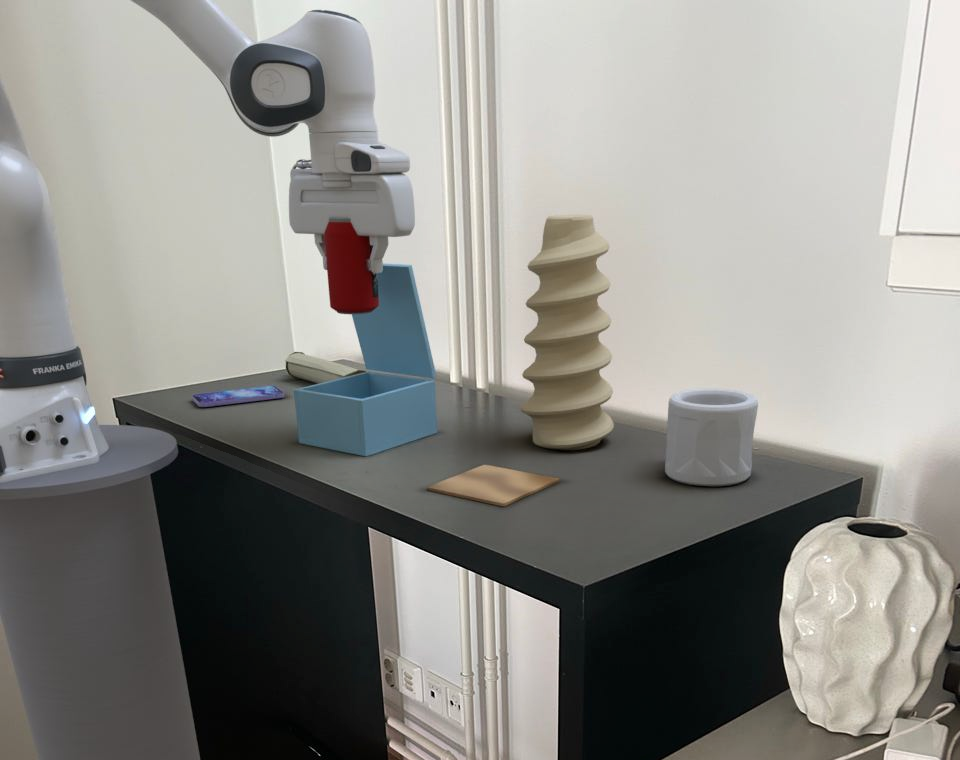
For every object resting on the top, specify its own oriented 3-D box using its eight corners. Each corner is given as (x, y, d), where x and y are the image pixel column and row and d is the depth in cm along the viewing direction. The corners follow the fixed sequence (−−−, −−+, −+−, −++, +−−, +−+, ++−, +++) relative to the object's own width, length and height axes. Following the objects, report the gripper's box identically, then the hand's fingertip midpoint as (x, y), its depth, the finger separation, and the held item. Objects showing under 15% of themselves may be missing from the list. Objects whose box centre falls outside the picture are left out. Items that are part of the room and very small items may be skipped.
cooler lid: (408, 266, 136) (411, 264, 136) (337, 263, 143) (341, 261, 144) (433, 378, 146) (436, 376, 146) (366, 369, 153) (369, 367, 154)
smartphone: (285, 393, 173) (199, 403, 168) (286, 398, 174) (200, 409, 168) (274, 384, 179) (190, 394, 174) (274, 389, 180) (191, 399, 174)
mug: (769, 478, 125) (777, 398, 120) (703, 493, 120) (709, 410, 116) (697, 454, 135) (702, 380, 131) (634, 467, 131) (637, 390, 126)
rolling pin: (385, 401, 170) (383, 371, 168) (356, 405, 167) (354, 375, 165) (303, 373, 194) (301, 347, 192) (277, 377, 191) (274, 350, 189)
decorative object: (632, 443, 141) (642, 214, 128) (556, 458, 135) (558, 220, 122) (576, 425, 151) (579, 212, 138) (503, 438, 145) (499, 216, 132)
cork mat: (503, 506, 117) (503, 503, 117) (426, 490, 124) (426, 486, 124) (559, 481, 126) (559, 478, 125) (484, 467, 132) (484, 464, 132)
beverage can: (389, 311, 137) (384, 217, 132) (350, 316, 133) (344, 219, 128) (359, 307, 141) (353, 216, 136) (320, 312, 137) (313, 218, 132)
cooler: (366, 456, 139) (361, 400, 135) (299, 443, 146) (293, 389, 143) (437, 432, 150) (435, 380, 146) (371, 421, 157) (368, 371, 154)
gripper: (272, 159, 132) (283, 269, 138) (386, 157, 121) (392, 277, 127) (307, 159, 137) (316, 265, 143) (419, 156, 125) (424, 272, 131)
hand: (353, 271), depth 135 cm, fingers closed on beverage can, 7 cm apart
